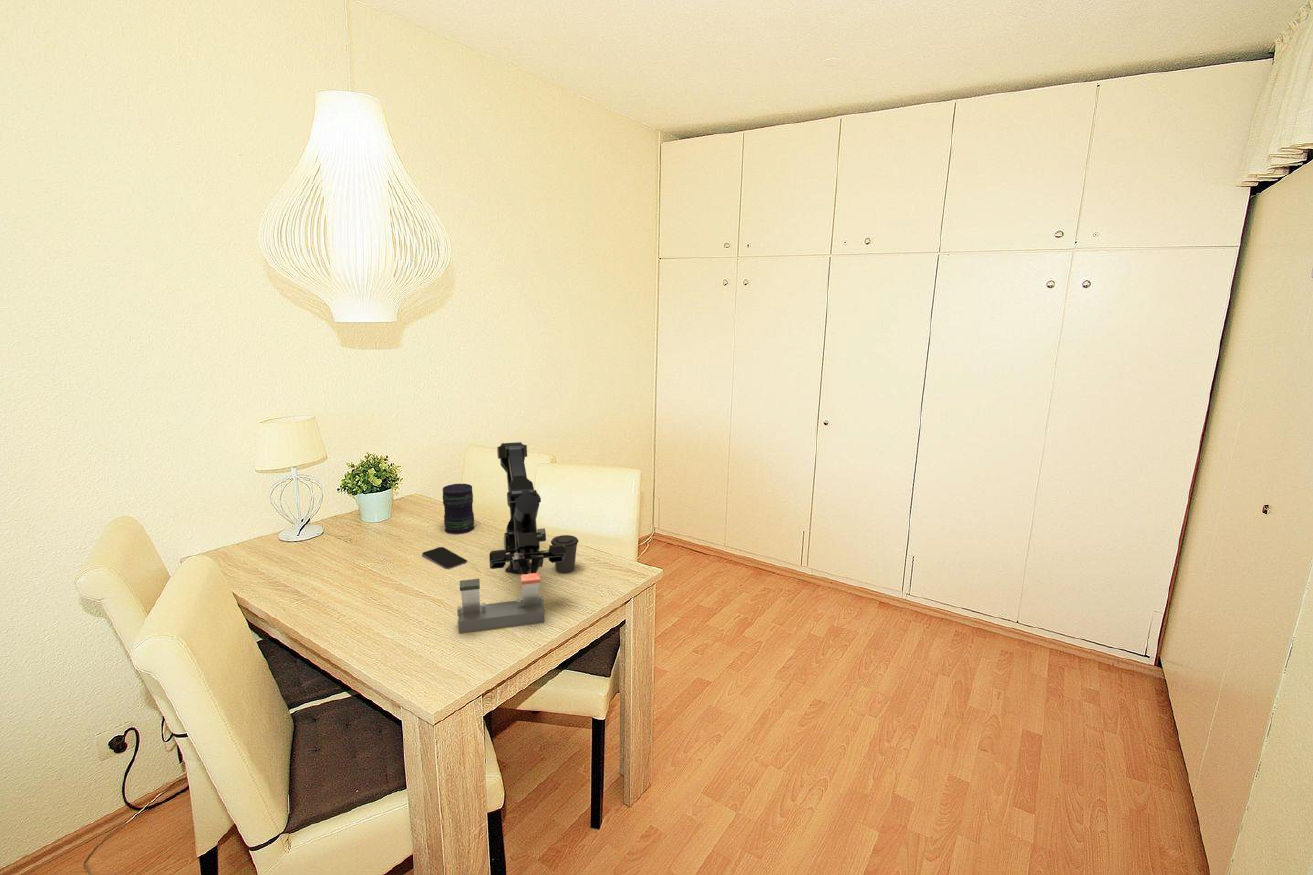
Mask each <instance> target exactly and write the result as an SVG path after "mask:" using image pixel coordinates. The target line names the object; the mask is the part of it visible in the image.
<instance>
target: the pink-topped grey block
mask: <svg viewBox="0 0 1313 875" xmlns="http://www.w3.org/2000/svg"><path fill="white" fill-rule="evenodd" d="M520 581H521V582H520V583H521V600H522V606H530V605H538V604H539V598H540V584H541V574H540V572H537V573H532V574H530V573H528V574H523V575H521V574H520Z"/></svg>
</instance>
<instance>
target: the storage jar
mask: <svg viewBox="0 0 1313 875" xmlns="http://www.w3.org/2000/svg"><path fill="white" fill-rule="evenodd" d="M473 503H474V494H473V485H471V484H468V483H454V484H447V485H445V486H443V487H442V504H443V506H444V515H443V521H444V522H443V524H444V532H445V533H447V534H449V535H463V534H468V533H471V532H473V531H475V530H474V529H475V514H474V511H473V510H474V508H473Z"/></svg>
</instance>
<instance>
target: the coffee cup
mask: <svg viewBox="0 0 1313 875" xmlns="http://www.w3.org/2000/svg"><path fill="white" fill-rule="evenodd" d="M578 543H579V539H578V537H577V536H574V535H571V534H570V535H569V534H563V535H561V534H560V535H557V536H554V537H553V538H552V539H551V541H550V545H559V544H563V545H564V546H565V549H566V556H565V560H564V561H563V562H555V563H554V566H555V571H556V572H557V573H559V574H569V573H573V572H574V571H575V565H576V556H577V555H576V554H577V546H578ZM573 570H574V571H573Z"/></svg>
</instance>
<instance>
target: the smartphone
mask: <svg viewBox="0 0 1313 875" xmlns="http://www.w3.org/2000/svg"><path fill="white" fill-rule="evenodd" d="M421 556H422V558H424V559H426V560H429V561H430V562H432V563H434V564H435V565H436V566H439V567H441V568H443V569H445V570H450V569H453V568H457V567H459V566H462V565H465V564H467V563H468V560H467V559H465V558H463V557H462V556H460V555H458V554H457V553H454V552H453V551H451V550H449V549H447V548H445V547H443V546H439V547H435V548H433V549H430V550H425V551H423V552H422V553H421Z"/></svg>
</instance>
